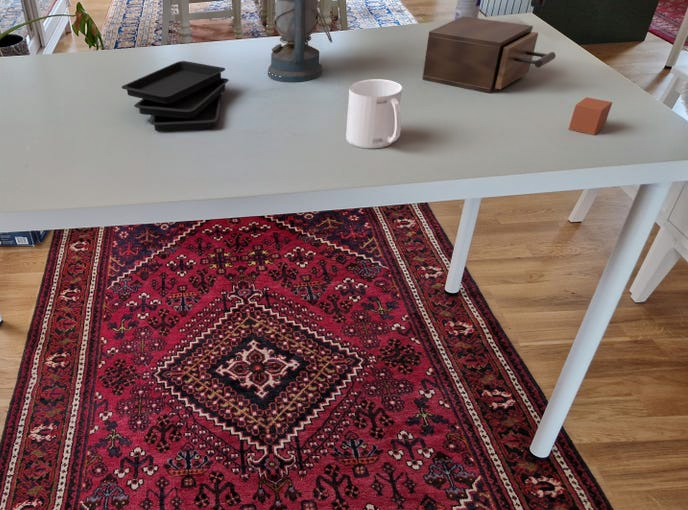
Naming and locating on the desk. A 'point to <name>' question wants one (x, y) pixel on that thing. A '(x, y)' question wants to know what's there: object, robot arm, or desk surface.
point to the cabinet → (469, 52)
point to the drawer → (519, 59)
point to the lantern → (296, 41)
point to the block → (590, 115)
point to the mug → (374, 113)
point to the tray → (180, 96)
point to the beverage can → (467, 8)
